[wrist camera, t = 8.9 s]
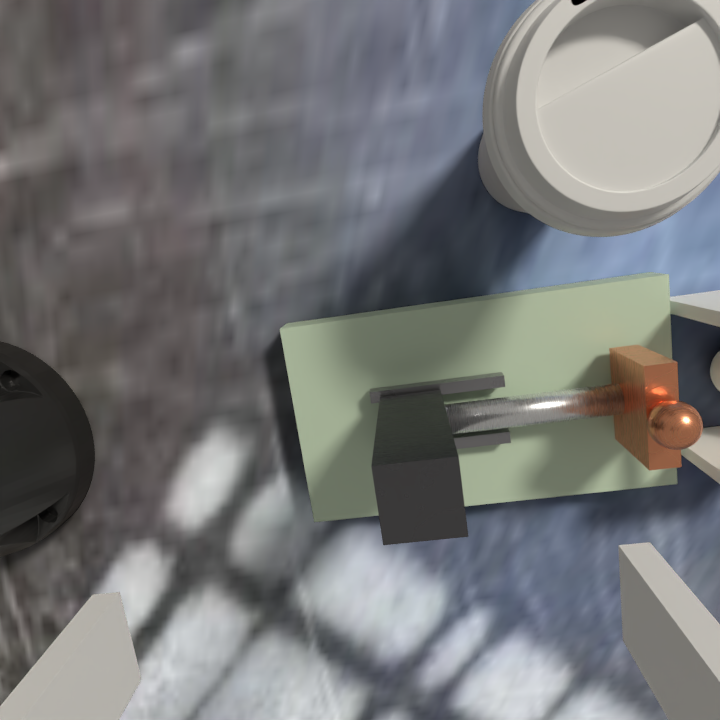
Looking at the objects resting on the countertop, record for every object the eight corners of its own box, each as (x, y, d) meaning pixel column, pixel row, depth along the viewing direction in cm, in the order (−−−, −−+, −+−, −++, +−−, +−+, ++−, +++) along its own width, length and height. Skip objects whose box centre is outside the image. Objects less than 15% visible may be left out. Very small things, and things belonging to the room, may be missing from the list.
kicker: (390, 464, 35) (386, 566, 24) (378, 378, 34) (367, 443, 23) (649, 434, 34) (770, 529, 23) (644, 343, 33) (769, 396, 22)
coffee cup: (613, 60, 33) (788, -87, 18) (615, 230, 34) (774, 222, 20) (447, 81, 33) (484, -43, 19) (457, 245, 35) (498, 249, 21)
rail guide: (379, 452, 36) (379, 458, 35) (370, 388, 35) (369, 392, 34) (508, 437, 35) (511, 442, 34) (501, 371, 34) (504, 375, 33)
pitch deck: (319, 505, 40) (314, 522, 37) (287, 323, 37) (279, 328, 35) (659, 468, 37) (677, 484, 35) (650, 272, 35) (668, 274, 32)
